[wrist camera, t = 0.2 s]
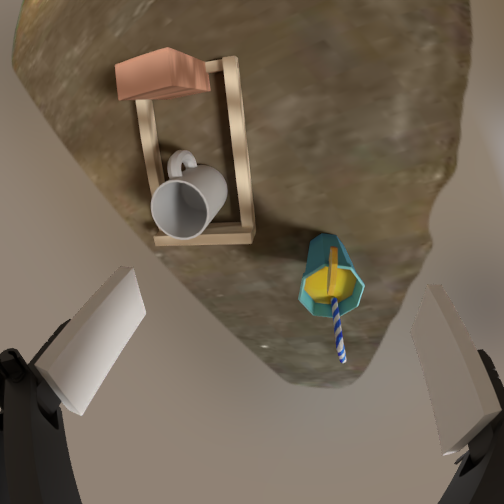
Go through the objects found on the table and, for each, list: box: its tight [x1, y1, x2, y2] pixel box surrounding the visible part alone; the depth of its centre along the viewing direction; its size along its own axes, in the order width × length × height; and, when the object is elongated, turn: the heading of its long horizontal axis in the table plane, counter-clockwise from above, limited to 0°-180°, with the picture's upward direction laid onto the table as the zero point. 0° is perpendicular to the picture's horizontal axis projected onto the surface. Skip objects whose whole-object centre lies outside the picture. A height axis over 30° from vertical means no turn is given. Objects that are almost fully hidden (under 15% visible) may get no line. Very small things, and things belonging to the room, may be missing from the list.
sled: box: [115, 47, 256, 246], centre depth 31 cm, size 24×14×12 cm, turn 6°
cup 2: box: [298, 233, 365, 363], centre depth 34 cm, size 14×8×15 cm, turn 19°
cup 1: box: [151, 150, 228, 240], centre depth 35 cm, size 7×10×9 cm
